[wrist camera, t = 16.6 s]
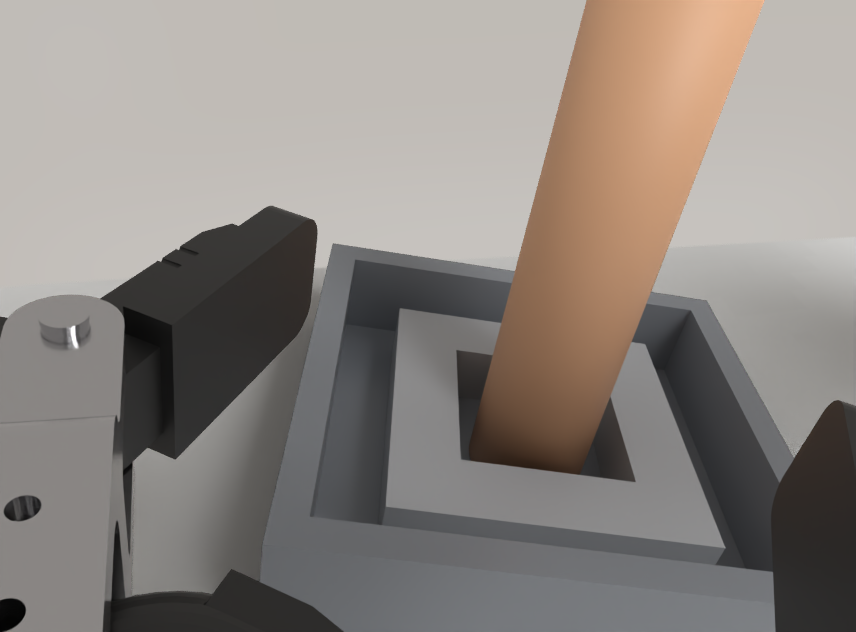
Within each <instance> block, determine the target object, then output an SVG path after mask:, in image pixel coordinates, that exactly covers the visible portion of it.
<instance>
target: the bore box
mask: <svg viewBox="0 0 856 632" xmlns="http://www.w3.org/2000/svg"><path fill="white" fill-rule="evenodd" d="M514 273H515V271H510V270H503V269H497V268H490V267H484V266H477V265H471V264H464V263H458V262H451V261H445V260H438V259H431V258H425V257H418V256H411V255H405V254H399V253H392V252H385V251H379V250H373V249H366V248H359V247H353V246H346V245H339V244H333V245H332V249H331V254H330V258H329V262H328V266H327V271H326V275H325V279H324V283H323V288H322V292H321V296H320V301H319V305H318V309H317V313H316V318H315V322H314V326H313V330H312V335H311V339H310V343H309V347H308V352H307V356H306V360H305V364H304V369H303V373H302V377H301V381H300V386H299V390H298V394H297V399H296V403H295V407H294V411H293V416H292V420H291V424H290V428H289V433H288V437H287V441H286V445H285V450H284V454H283V458H282V462H281V467H280V471H279V475H278V479H277V484H276V488H275V492H274V497H273V501H272V505H271V509H270V514H269V518H268V522H267V526H266V531H265V535H264V539H263V543H262V556H261V570H260V582H261V583H263V584H265V585H267V586H270V587H272V588H274V589H276V590H278V591H281V592H283V593H285V594H287V595H289V596H291V597H294V598H296V599H298V600H300V601H302V602H305V603H307V604H309V605H311V606H313V607H314V608H315V609H317V610H318V611H319V612H320V613H322V614H323V615H324V616H325V617H327V618H328V619H329V620H330V621H331V622H333V623H334V624H335V625H336V626H338V627H339V628H340V629H341V630H343V631H344V632H775V608H774V584H773V559H772V535H771V511H772V505H773V501H774V497H775V494H776V491H777V488H778V486H779V483H780V481H781V479H782V478H783V476H784V474H785V472H786V471H787V469H788V468H789V466H790V465H791V463H792V461H793V460H794V457H793V455H792V454H791V452H790V450H789V448H788V446H787V445H786V443H785V441H784V439H783V437H782V436H781V434H780V432H779V430H778V428H777V427H776V425H775V423H774V421H773V419H772V418H771V416H770V414H769V412H768V410H767V408H766V407H765V405H764V403H763V401H762V399H761V398H760V396H759V394H758V392H757V390H756V389H755V387H754V385H753V383H752V381H751V380H750V378H749V376H748V374H747V372H746V371H745V369H744V367H743V365H742V363H741V362H740V360H739V358H738V356H737V354H736V353H735V351H734V349H733V347H732V345H731V344H730V342H729V340H728V338H727V336H726V335H725V333H724V331H723V329H722V327H721V325H720V324H719V322H718V320H717V318H716V316H715V315H714V313H713V311H712V309H711V307H710V306H709V304H708V302H707V301H706V300H700V299H693V298H687V297H680V296H674V295H667V294H660V293H654V292H651V293H650V296H649V298H648V301H647V303H646V306H645V309H644V311H643V314H642V316H641V319H640V321H639V324H638V326H637V329H636V332H635V334H634V337H633V339H632V342H631V344H630V347H629V350H628V352H627V355H626V357H625V360H624V362H623V365H622V368H621V370H620V373H619V375H618V378H617V380H616V383H615V386H614V388H613V391H612V393H611V396H610V398H609V401H608V403H607V406H606V409H605V411H604V414H603V416H602V419H601V421H600V424H599V427H598V429H597V432H596V434H595V437H594V439H593V442H592V445H591V447H590V450H589V452H588V455H587V457H586V460H585V463H584V465H583V468H582V470H581V473H580V475H576V474H568V473H560V472H553V471H545V470H537V469H529V468H521V467H514V466H506V465H498V464H490V463H483V462H475V461H471V459H470V455H469V444H470V440H471V436H472V432H473V428H474V425H475V421H476V417H477V413H478V410H479V406H480V402H481V398H482V394H483V391H484V387H485V383H486V379H487V375H488V372H489V368H490V364H491V360H492V357H493V353H494V349H495V345H496V341H497V338H498V334H499V330H500V326H501V323H502V319H503V315H504V311H505V307H506V304H507V300H508V296H509V292H510V289H511V285H512V281H513V277H514Z"/></svg>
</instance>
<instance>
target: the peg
mask: <svg viewBox="0 0 856 632" xmlns="http://www.w3.org/2000/svg"><path fill="white" fill-rule="evenodd" d="M763 3H764V0H587V1H586V5H585V9H584V13H583V16H582V20H581V24H580V28H579V31H578V35H577V39H576V43H575V47H574V50H573V54H572V58H571V62H570V65H569V69H568V73H567V77H566V81H565V85H564V88H563V92H562V96H561V100H560V103H559V107H558V111H557V115H556V118H555V122H554V126H553V130H552V133H551V138H550V141H549V145H548V149H547V153H546V157H545V160H544V164H543V168H542V172H541V175H540V179H539V183H538V186H537V190H536V194H535V198H534V202H533V205H532V209H531V213H530V217H529V221H528V224H527V228H526V232H525V236H524V240H523V243H522V247H521V251H520V254H519V258H518V262H517V266H516V270H515V273H514V277H513V281H512V285H511V289H510V292H509V296H508V300H507V304H506V307H505V311H504V315H503V319H502V323H501V326H500V330H499V334H498V338H497V341H496V345H495V349H494V353H493V357H492V360H491V364H490V368H489V372H488V375H487V379H486V383H485V387H484V391H483V394H482V398H481V402H480V406H479V410H478V413H477V417H476V421H475V425H474V428H473V432H472V436H471V440H470V444H469V455H470V459H471V461H475V462H483V463H490V464H498V465H506V466H514V467H521V468H529V469H537V470H545V471H553V472H560V473H568V474H576V475H580V473H581V470H582V468H583V465H584V463H585V460H586V457H587V455H588V452H589V450H590V447H591V445H592V442H593V439H594V437H595V434H596V432H597V429H598V427H599V424H600V421H601V419H602V416H603V414H604V411H605V409H606V406H607V403H608V401H609V398H610V396H611V393H612V391H613V388H614V386H615V383H616V380H617V378H618V375H619V373H620V370H621V368H622V365H623V362H624V360H625V357H626V355H627V352H628V350H629V347H630V344H631V342H632V339H633V337H634V334H635V332H636V329H637V326H638V324H639V321H640V319H641V316H642V314H643V311H644V309H645V306H646V303H647V301H648V298H649V296H650V293H651V291H652V288H653V285H654V283H655V280H656V278H657V275H658V273H659V270H660V267H661V265H662V262H663V260H664V257H665V255H666V252H667V249H668V247H669V244H670V242H671V239H672V237H673V234H674V231H675V229H676V226H677V224H678V221H679V219H680V216H681V213H682V210H683V208H684V205H685V203H686V201H687V198H688V196H689V193H690V190H691V188H692V185H693V183H694V180H695V178H696V175H697V172H698V170H699V167H700V165H701V162H702V159H703V157H704V155H705V152H706V149H707V147H708V144H709V142H710V139H711V137H712V134H713V131H714V129H715V126H716V124H717V121H718V119H719V116H720V113H721V111H722V108H723V106H724V103H725V100H726V98H727V95H728V93H729V90H730V88H731V85H732V83H733V80H734V77H735V75H736V72H737V70H738V67H739V64H740V62H741V59H742V57H743V54H744V52H745V49H746V47H747V44H748V42H749V39H750V36H751V34H752V31H753V29H754V26H755V23H756V21H757V18H758V16H759V13H760V11H761V8H762V5H763Z"/></svg>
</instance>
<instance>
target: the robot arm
mask: <svg viewBox="0 0 856 632" xmlns="http://www.w3.org/2000/svg"><path fill="white" fill-rule="evenodd" d="M316 243H317V225H316V223H315V221H314V220H312V219H309V218H306V217H303V216H301V215H297V214H295V213H292V212H289V211H285V210H283V209H280V208H277V207H274V206H268V207H266V208H264V209H263V210H261V211H260V212H259V213H257V214H256V215H254V216H253V217H251V218H250V219H249V220H247V221H245V222H244V223H243V224H241V225H240V226H237V225H234V224H229V225H226V226H223V227H219V228H216V229H212V230H208V231H205V232H202V233H200V234H199V235H197V236H195V237H194V238H192V239H191V240H190V241H188V242H186V243H185V244H183V245H182V246H180V249H179V250H177V249H176V250H174V251H172V252H171V253H169V254H168V255H167V256H165V257H163V259H162V261H161V262H160V261H157V262H156V263H154V264H153V265H151V266H150V267H148V268H146V269H145V270H143V271H142V272H140V273H139V274H137V275H136V276H134V277H133V278H131V279H130V280H128V281H127V282H125V283H123V284H122V285H120V286H119V287H117V288H116V289H114V290H113V291H111V292H110V293H108V294H107V295H105V296H104V297H102V298H101V299H99V298H95V297H90V296H83V295H59V296H52V297H47V298H43V299H39V300H36V301H34V302H31V303H29V304H26V305H24V306H22V307H21V308H19V309H18V310H16V311H15V312H14V313H13V314H11V315H10V316H9V318H5V317H0V632H344V631H343V630H341V629H340V628H339V627H338V626H336V625H335V624H334V623H333V622H331V621H330V620H329V619H328V618H327V617H325V616H324V615H323V614H322V613H320V612H319V611H318V610H317V609H315V608H314V607H313V606H311V605H309V604H307V603H305V602H302V601H300V600H298V599H296V598H294V597H291V596H289V595H287V594H285V593H283V592H281V591H278V590H276V589H274V588H272V587H270V586H267V585H265V584H263V583H261V582H259V581H256V580H254V579H252V578H250V577H248V576H245V575H243V574H241V573H239V572H237V571H235V570H232V569H231V570H230V572H229V573H228V574H227V576H226V577H225V578H224V580H223V581H222V582H221V584H220V585H219V586H218V588H217V589H216V591H215V592H214V593H213V594H209V593H203V592H188V591H171V592H155V593H148V594H142V595H135V596H133V595H132V565H133V523H134V482H135V470H134V460H135V459H136V458H137V457H138V456H139V455H140V454H141V453H142V452H143V451H144V450H145V449H146V448H147V447H148V448H150V449H152V450H154V451H157V452H159V453H161V454H164V455H166V456H168V457H171V458H173V459H176V458H177V457H178V456H179V455H180V454H181V453H182V452H183V451H184V450H185V449H186V448H187V447H188V446H189V445H190V444H191V443H192V442H193V441H194V440H195V439H196V438H197V437H198V436H199V435H200V434H201V433H202V432H203V431H204V430H205V429H206V428H207V427H208V426H209V425H210V424H211V423H212V422H213V421H214V420H215V419H216V418H217V417H218V416H219V414H220V413H221V412H222V411H223V410H224V409H225V408H226V407H227V406H228V405H229V404H230V403H231V402H232V401H233V400H234V399H235V398H236V397H237V396H238V395H239V394H240V393H241V392H242V391H243V390H244V389H245V388H246V387H247V386H248V385H249V384H250V383H251V382H252V381H253V380H254V379H255V378H256V377H257V376H258V375H259V374H260V373H261V372H262V371H263V370H264V368H265V367H266V366H267V365H268V364H269V363H270V362H271V361H272V360H273V359H274V358H275V357H276V356H277V355H278V354H279V353H280V352H281V351H282V350H283V349H284V348H285V347H286V346H287V345H288V344H289V343H290V342H291V341H292V340H293V339H294V338H295V337H296V335H297V334H298V333H299V331H300V330H301V328H302V326H303V324H304V322H305V320H306V317H307V314H308V311H309V307H310V302H311V293H312V283H313V273H314V263H315V253H316ZM771 535H772V559H773V584H774V608H775V632H856V406H854V405H851V404H848V403H845V402H842V401H839V400H836V401H834V402H832V403H831V404H830V405H829V406H828V407H827V408H826V409H825V411H824V412H823V414H822V415H821V417H820V418H819V420H818V422H817V423H816V425H815V426H814V428H813V430H812V431H811V433H810V434H809V436H808V437H807V439H806V441H805V442H804V444H803V445H802V447H801V449H800V450H799V452H798V453H797V455H796V457H795V458H794V460H793V461H792V463H791V465H790V466H789V468H788V469H787V471H786V472H785V474H784V476H783V478H782V479H781V481H780V483H779V486H778V488H777V491H776V494H775V497H774V501H773V505H772V511H771Z"/></svg>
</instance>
